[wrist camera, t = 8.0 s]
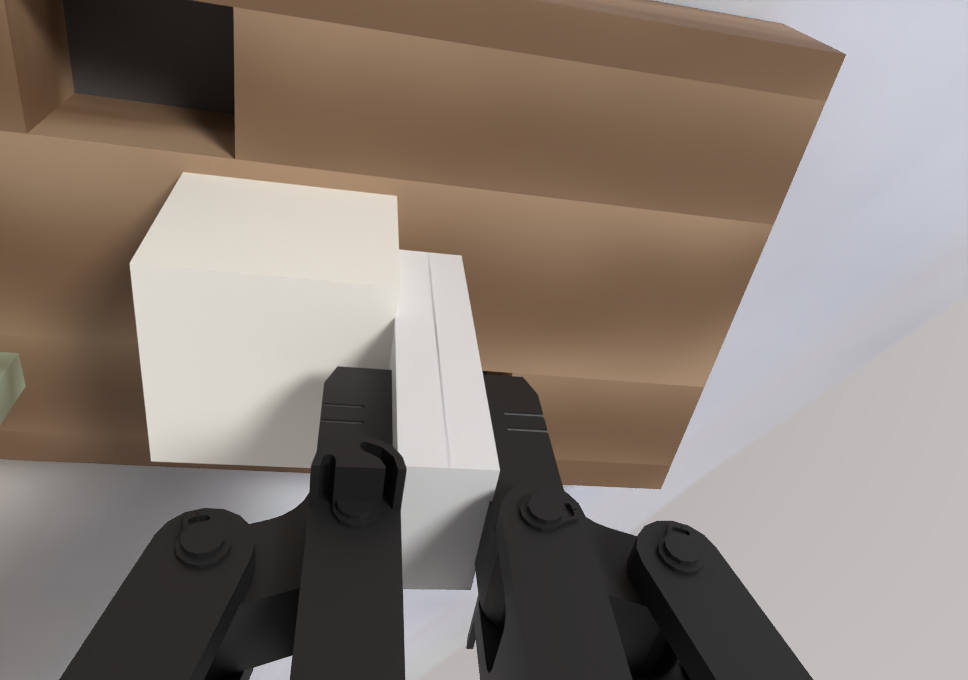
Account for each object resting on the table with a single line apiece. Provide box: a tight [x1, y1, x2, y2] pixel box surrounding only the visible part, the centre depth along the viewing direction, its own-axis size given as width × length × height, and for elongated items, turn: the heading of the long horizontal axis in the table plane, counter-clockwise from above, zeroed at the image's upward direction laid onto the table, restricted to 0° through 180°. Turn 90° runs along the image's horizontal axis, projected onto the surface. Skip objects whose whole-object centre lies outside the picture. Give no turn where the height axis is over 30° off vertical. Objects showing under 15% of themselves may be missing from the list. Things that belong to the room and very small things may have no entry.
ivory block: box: [129, 172, 400, 468], centre depth 16 cm, size 4×4×4 cm
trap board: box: [0, 0, 846, 489], centre depth 17 cm, size 13×23×7 cm, turn 80°
